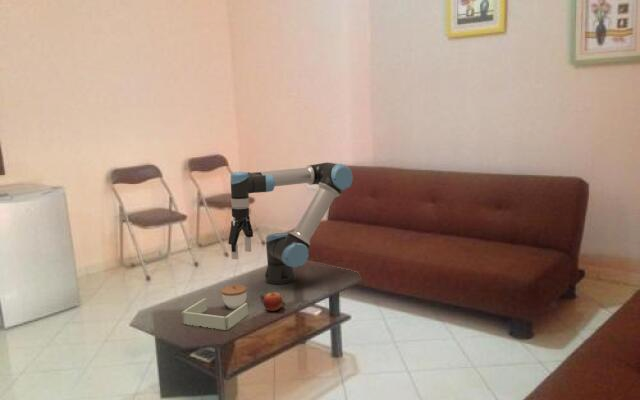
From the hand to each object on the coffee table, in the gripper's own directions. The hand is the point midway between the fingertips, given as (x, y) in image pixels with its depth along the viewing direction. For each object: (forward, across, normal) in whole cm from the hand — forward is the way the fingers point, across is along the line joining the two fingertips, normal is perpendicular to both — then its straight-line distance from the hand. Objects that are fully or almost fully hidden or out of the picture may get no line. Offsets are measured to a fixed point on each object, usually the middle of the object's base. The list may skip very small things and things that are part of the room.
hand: (241, 255), depth 235 cm
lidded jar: (+20, +9, +1) cm, 22 cm away
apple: (+20, +10, +19) cm, 29 cm away
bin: (+21, +24, -1) cm, 32 cm away
